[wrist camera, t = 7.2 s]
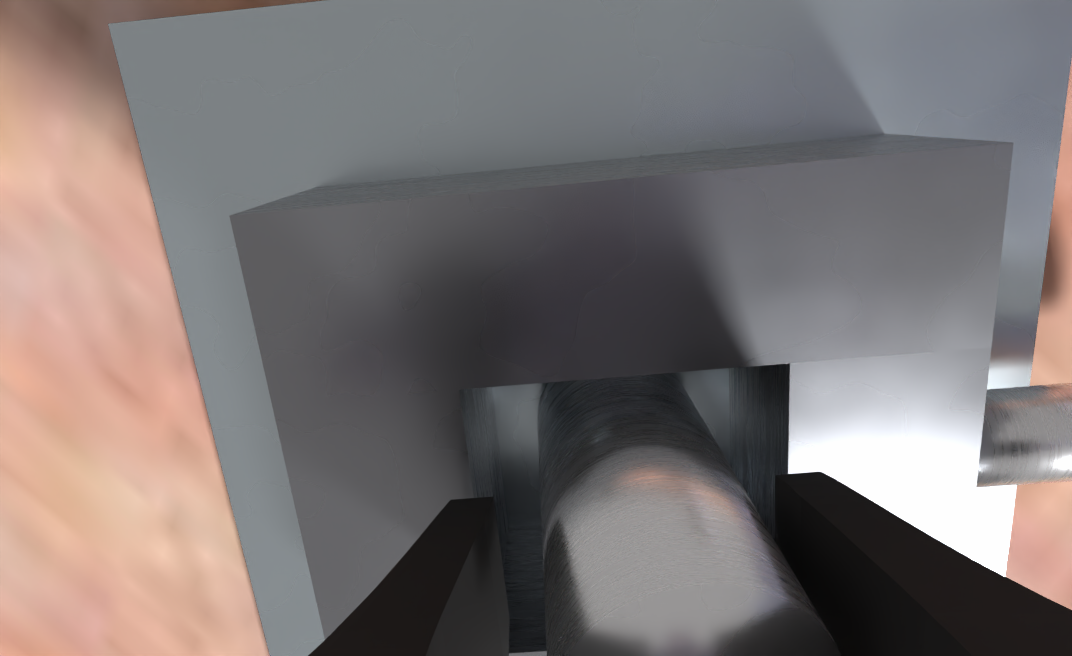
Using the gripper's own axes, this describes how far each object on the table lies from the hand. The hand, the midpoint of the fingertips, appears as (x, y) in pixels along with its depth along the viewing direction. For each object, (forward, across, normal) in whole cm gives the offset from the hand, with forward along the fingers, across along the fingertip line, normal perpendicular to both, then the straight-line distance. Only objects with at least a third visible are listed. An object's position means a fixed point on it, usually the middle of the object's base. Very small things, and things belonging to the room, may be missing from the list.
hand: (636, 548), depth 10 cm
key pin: (+4, 0, 0) cm, 4 cm away
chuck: (+5, 0, 0) cm, 5 cm away
